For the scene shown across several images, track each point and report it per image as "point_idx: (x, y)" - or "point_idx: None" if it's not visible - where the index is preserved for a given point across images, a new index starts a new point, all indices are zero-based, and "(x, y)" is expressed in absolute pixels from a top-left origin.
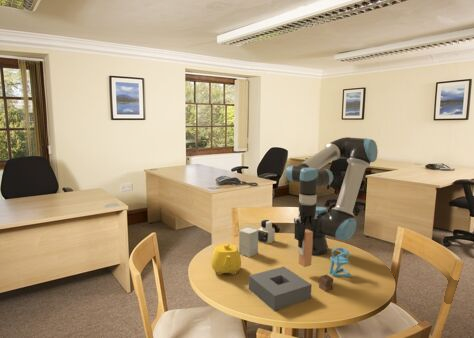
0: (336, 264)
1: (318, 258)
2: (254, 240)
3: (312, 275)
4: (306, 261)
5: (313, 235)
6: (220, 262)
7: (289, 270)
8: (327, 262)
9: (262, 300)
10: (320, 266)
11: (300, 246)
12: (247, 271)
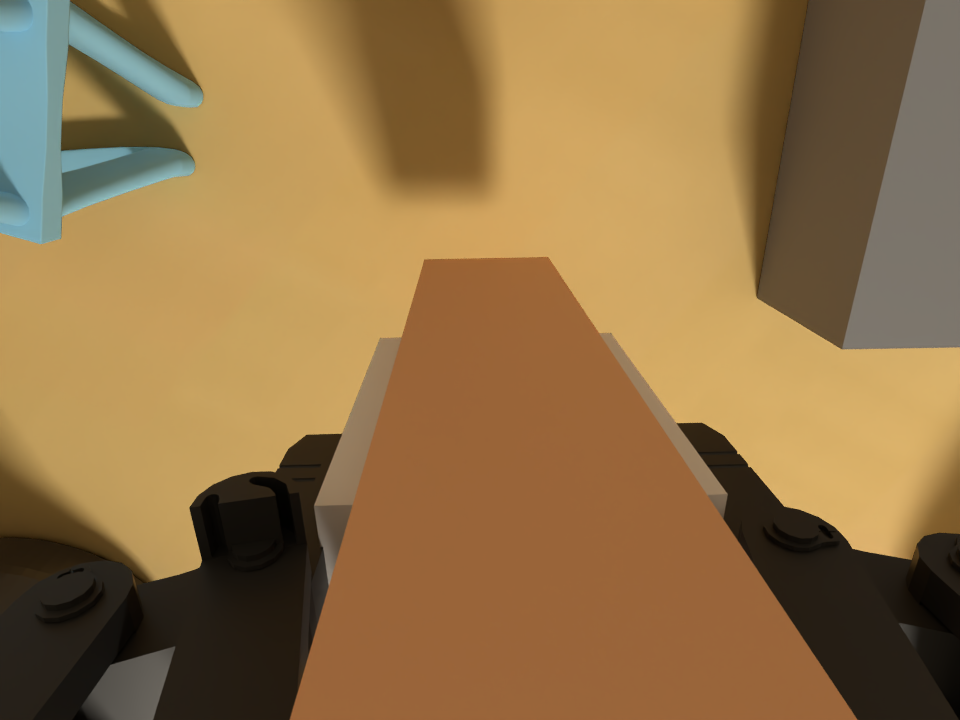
0: (69, 7)
1: (113, 490)
2: None
3: (419, 218)
4: (523, 276)
5: (231, 609)
6: None
7: (880, 214)
8: (64, 383)
9: None
10: (199, 344)
11: (720, 441)
12: (908, 554)
